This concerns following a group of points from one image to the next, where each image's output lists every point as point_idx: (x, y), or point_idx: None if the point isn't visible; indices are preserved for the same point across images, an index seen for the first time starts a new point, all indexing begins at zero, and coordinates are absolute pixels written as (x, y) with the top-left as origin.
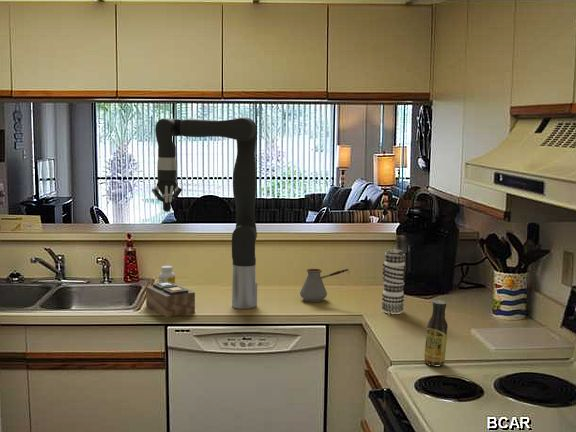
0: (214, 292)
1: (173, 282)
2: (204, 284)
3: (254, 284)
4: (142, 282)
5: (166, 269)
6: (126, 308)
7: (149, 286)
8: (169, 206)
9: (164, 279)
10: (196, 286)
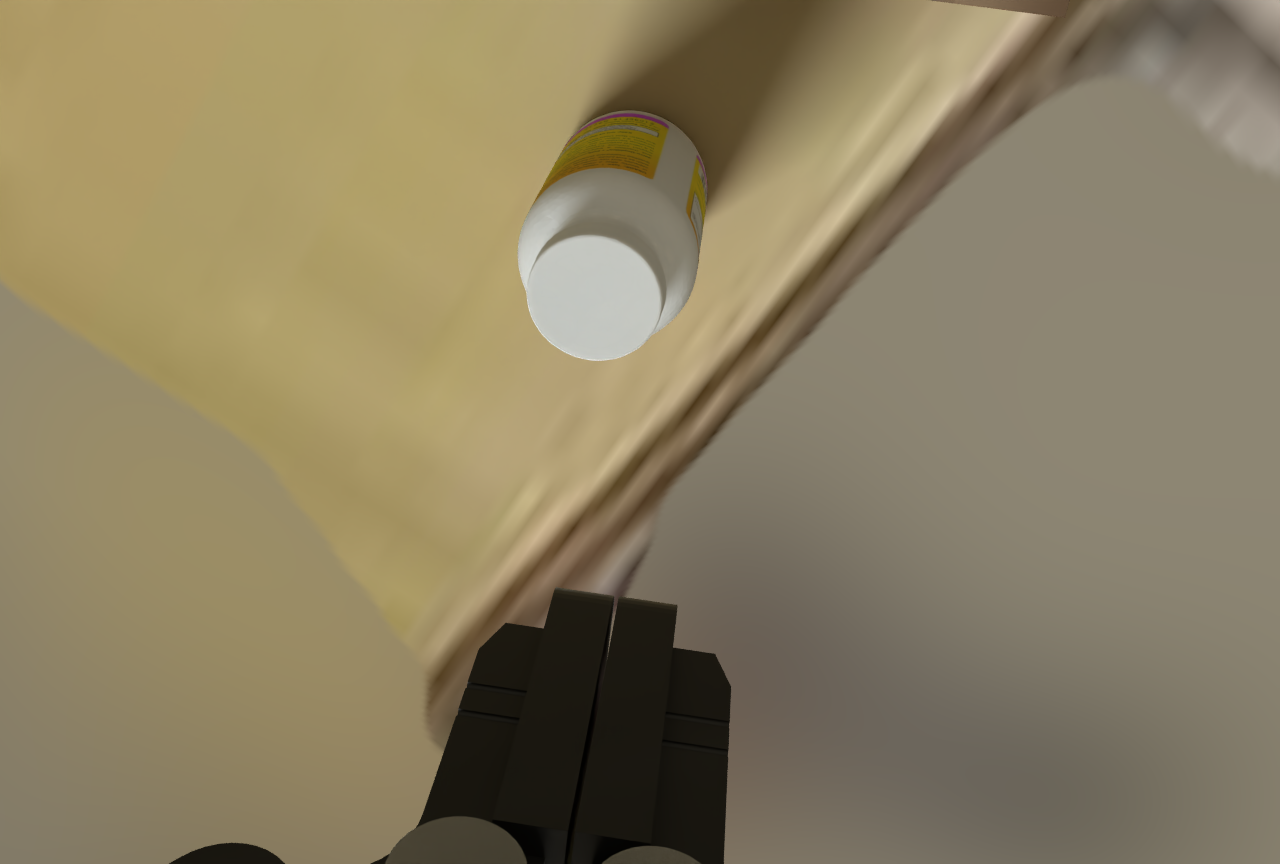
0: (161, 25)
1: (583, 153)
2: (123, 338)
3: None
4: None
5: (636, 241)
6: (1205, 43)
7: (1027, 3)
8: (535, 699)
9: (679, 198)
10: (219, 323)
